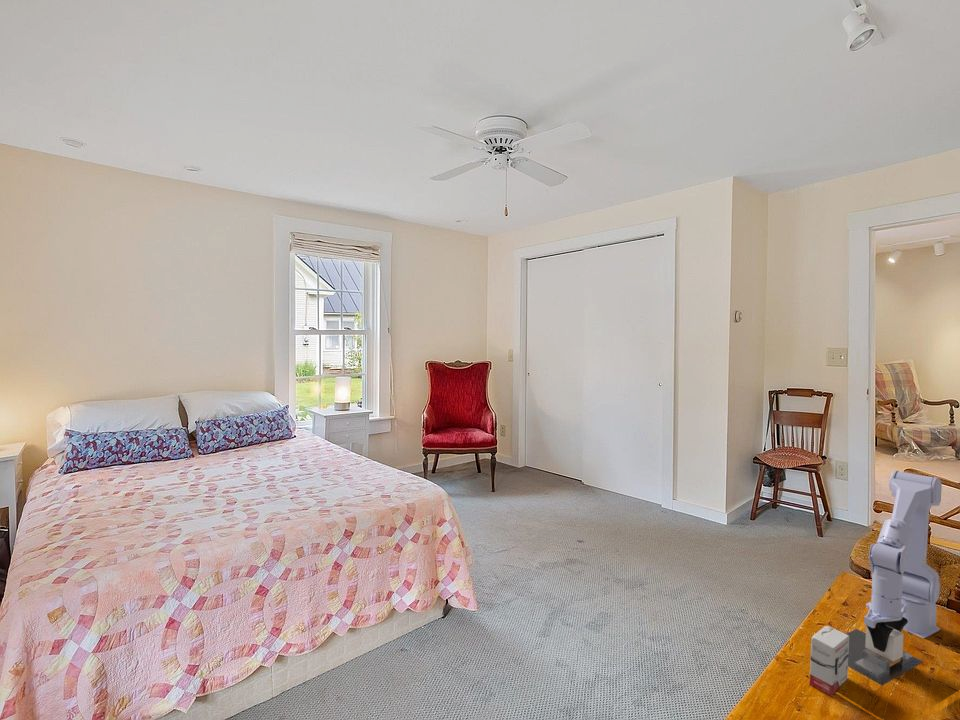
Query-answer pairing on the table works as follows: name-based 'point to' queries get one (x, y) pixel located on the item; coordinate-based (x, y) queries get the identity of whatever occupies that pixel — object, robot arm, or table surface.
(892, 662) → the block
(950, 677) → the table surface
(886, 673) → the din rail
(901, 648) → the block
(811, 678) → the ink box
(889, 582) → the robot arm
